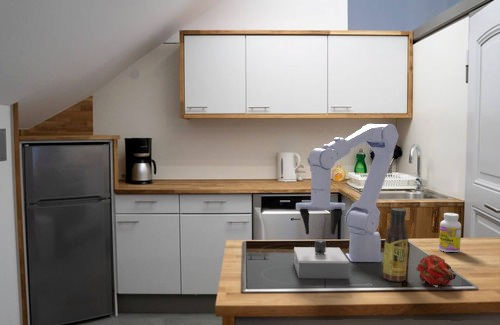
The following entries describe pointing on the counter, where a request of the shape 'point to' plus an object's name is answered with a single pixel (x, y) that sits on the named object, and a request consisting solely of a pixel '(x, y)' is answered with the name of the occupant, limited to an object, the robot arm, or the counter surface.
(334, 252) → the slotted white block
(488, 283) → the counter surface
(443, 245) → the supplement bottle
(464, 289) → the counter surface
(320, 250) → the plunger
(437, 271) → the dragon fruit
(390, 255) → the sauce bottle
